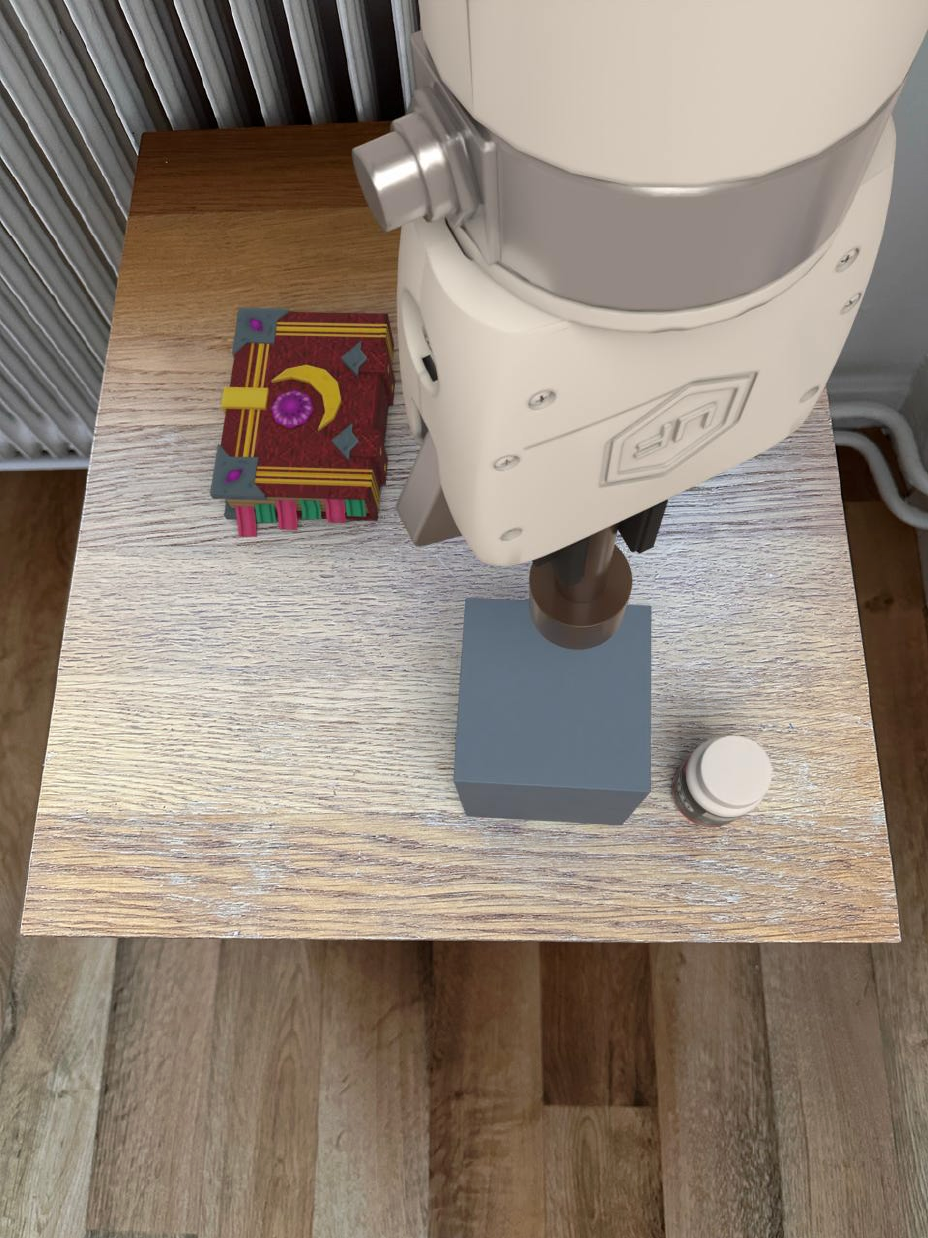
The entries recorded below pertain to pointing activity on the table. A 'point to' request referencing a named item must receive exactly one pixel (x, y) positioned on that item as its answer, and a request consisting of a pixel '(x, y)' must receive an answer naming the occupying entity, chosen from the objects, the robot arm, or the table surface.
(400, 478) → the table surface
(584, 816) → the stand
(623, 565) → the brown wooden handle
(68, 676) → the table surface
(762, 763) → the pill bottle
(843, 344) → the robot arm
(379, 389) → the decorative book
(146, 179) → the table surface
